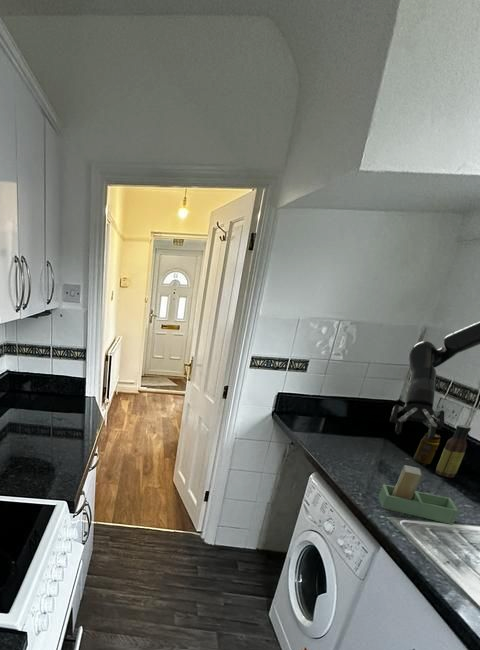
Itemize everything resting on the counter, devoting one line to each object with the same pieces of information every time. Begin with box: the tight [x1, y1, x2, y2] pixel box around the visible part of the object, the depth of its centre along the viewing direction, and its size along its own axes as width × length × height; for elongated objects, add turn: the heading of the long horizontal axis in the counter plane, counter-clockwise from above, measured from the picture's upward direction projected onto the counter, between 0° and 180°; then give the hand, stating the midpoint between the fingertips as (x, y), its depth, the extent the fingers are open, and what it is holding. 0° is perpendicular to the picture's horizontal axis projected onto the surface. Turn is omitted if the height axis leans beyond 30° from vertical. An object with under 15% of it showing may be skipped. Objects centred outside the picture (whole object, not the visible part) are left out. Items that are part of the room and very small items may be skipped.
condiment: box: [405, 432, 442, 465], centre depth 169 cm, size 7×8×12 cm
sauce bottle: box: [435, 424, 472, 479], centre depth 156 cm, size 7×6×20 cm
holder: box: [378, 483, 460, 525], centre depth 131 cm, size 18×10×5 cm, turn 63°
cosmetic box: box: [391, 464, 422, 500], centre depth 131 cm, size 6×4×12 cm
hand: (414, 435), depth 135 cm, fingers open, 8 cm apart
